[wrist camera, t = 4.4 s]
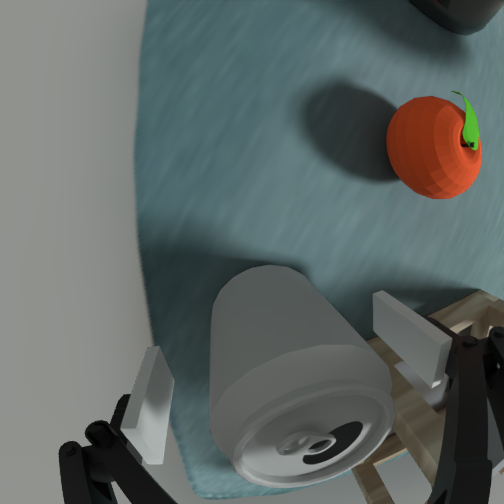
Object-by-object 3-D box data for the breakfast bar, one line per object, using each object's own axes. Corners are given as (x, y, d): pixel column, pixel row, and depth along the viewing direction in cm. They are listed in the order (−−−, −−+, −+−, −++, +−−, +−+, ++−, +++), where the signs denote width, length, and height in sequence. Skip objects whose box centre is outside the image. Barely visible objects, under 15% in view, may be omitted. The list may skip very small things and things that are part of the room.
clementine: (380, 80, 16) (440, 49, 9) (443, 122, 17) (505, 113, 11) (356, 174, 18) (424, 173, 11) (424, 208, 19) (491, 222, 12)
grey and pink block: (439, 430, 11) (479, 480, 6) (539, 345, 12) (574, 369, 7) (394, 510, 15) (411, 541, 10) (485, 451, 16) (505, 473, 11)
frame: (348, 347, 21) (454, 488, 6) (480, 289, 22) (581, 345, 7) (345, 457, 25) (389, 549, 11) (452, 403, 26) (510, 465, 12)
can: (274, 371, 20) (317, 502, 9) (190, 326, 19) (171, 475, 7) (336, 297, 20) (440, 402, 8) (254, 238, 18) (318, 332, 6)
